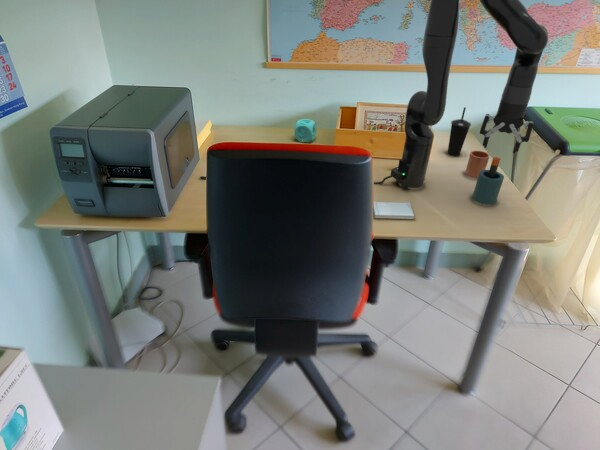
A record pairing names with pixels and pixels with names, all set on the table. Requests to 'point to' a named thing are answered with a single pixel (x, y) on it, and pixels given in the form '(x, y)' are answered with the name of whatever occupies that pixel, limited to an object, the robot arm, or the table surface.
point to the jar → (487, 187)
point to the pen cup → (476, 163)
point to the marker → (493, 167)
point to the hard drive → (393, 210)
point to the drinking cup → (458, 135)
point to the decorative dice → (305, 130)
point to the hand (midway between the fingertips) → (499, 149)
